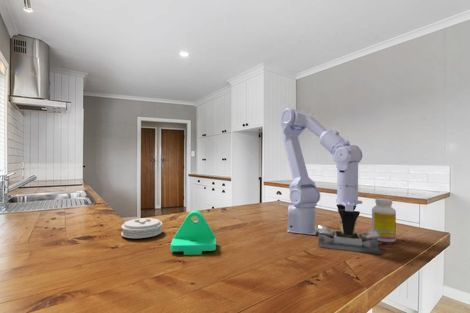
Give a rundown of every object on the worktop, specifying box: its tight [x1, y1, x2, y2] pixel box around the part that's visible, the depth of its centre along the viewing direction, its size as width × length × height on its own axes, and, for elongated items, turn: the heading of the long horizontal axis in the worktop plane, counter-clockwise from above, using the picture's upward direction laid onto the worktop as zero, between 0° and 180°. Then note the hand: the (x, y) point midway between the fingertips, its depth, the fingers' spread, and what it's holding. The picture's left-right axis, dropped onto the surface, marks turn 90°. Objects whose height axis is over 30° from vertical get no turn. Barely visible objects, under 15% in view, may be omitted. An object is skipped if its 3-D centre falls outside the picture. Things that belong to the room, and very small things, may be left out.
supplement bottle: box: [371, 198, 397, 243], centre depth 81 cm, size 7×7×13 cm
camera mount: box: [169, 209, 217, 256], centre depth 71 cm, size 12×8×10 cm, turn 95°
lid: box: [120, 217, 163, 239], centre depth 84 cm, size 13×13×5 cm
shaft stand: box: [316, 224, 382, 255], centre depth 76 cm, size 17×10×5 cm, turn 70°
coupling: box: [339, 217, 356, 238], centre depth 76 cm, size 4×4×7 cm
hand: (347, 231), depth 76 cm, fingers open, 7 cm apart
